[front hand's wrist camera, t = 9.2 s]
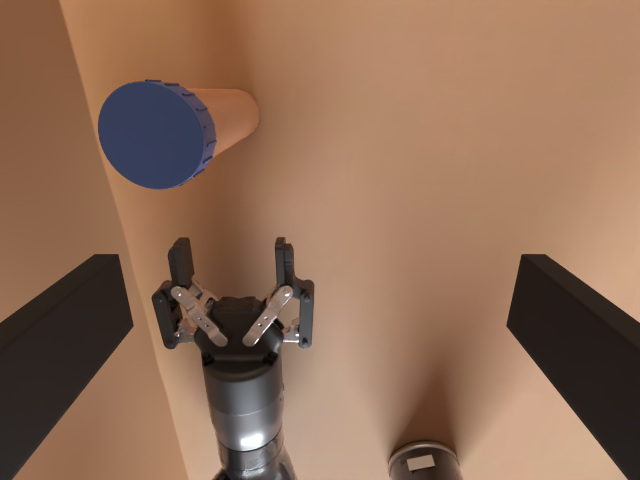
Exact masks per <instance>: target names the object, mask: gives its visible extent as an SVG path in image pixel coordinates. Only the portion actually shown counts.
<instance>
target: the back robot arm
mask: <svg viewBox="0 0 640 480" xmlns="http://www.w3.org/2000/svg"><path fill="white" fill-rule="evenodd" d="M275 257H276V275H277V284H276V286H275V287H274V288H272V289H271V290H270V291H269V293H268V294H267V295H266V296H265V298H264V299H263V300H262V301H260V300H257V299H255V297H244V298H240V299H238V298H234V297H222V299H221V300H219V299H218V298H217V297H216V296H215V295H214V294H213V293H212V292H211V291H210V290H208V289H204V288H203V287H202V286H201V285H200V284H199V283H198V282H197V281H196V280H195V279H194V278H193V277H192V276H193V275H194V267H193V260H192V253H191V246H190V240H189V238H179V239H178V240H177V241H176V242H175V243H174V245H173V247H172V248H171V249H170V250H169V253H168V260H169V266H170V272H171V278H172V281H169V280H167V281H164V282H163V283H162V285H161V286H160V288H159V289H158V290H157V291H156V292H155V293H154V294H153V296H152V302H153V306H154V310H155V313H156V317H157V321H158V324H159V328H160V332H161V335H162V339H163V343H164V346H165V347H166V348H168V349H174V348H176V346H177V345H178V343H187V342H195V343H196V345H197V346H198V347H199V349H200V350H201V355H202V366H203V372H204V379H205V385H206V392H207V398H208V404H209V411H210V416H211V421H212V424H213V426H214V429H215V433H216V439H217V446H218V453H219V458H220V462H221V465H222V468H221V469H220V470H219V471H218V473H217V474H216V475H215V476H214V477H213V479H212V480H297V477H296V474H295V471H294V468H293V466H292V463H291V460H290V457H289V455H288V453H287V451H286V449H285V446H284V441H283V423H282V414H283V393H284V385H283V381H282V364H281V347H280V346H281V344H282V343H283V341H284V342H299V346H300V347H301V348H303V349H307V348H309V347H310V346H311V344H312V325H313V306H314V283H313V282H312V281H311V280H305V281H303V280H300V279H298V278H297V277H296V276H295V274H294V252H293V247H292V245H291V244H286V240H285V237H277V239H276V243H275ZM291 297H293V298H296V299H299V300H300V317H297V318H296V319H294V320H292V323H291V325H290V326H289V327H287V328H284V325H283V324H282V323H281V322H280V321H279V320H278V318H277V316H278V314H279V313H280V310H281V309H282V307H283V306H284V305H285V304H286V302H287V301H288V300H289V299H290V298H291ZM179 303H180V304H181V305H182V306H183V307H184V308H185V309H186V310H187V314H188V316H189V317H190V318H191V319H192V320H193V321H194V322H195V323H196V324H197V325H198V327H197V328H192V327H191V326H190V325H189V323H188V319H187V318H183V316H182V312H181V308H180V304H179ZM205 306H206V307H207V308H208V309H209V311H208V312H206V311H205V308H204V307H205ZM388 471H389V477H390V480H464V479H463V476H462V473H461V471H460V468H459V463H458V460H457V457H456V455H455V453H454V452H453V451H452V450H451V449H450V448H449V447H448V446H446V445H444V444H442V443H439V442H435V441H417V442H413V443H410V444H407V445H405V446H403V447H401V448H400V449H398V450H397V451H396V452H395V453H394V454H393V455H392V457H391V459H390V461H389V464H388Z"/></svg>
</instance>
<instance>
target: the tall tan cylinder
mask: <svg viewBox="0 0 640 480" xmlns="http://www.w3.org/2000/svg"><path fill="white" fill-rule="evenodd" d="M185 89H187V88H185ZM187 90H189V91H190V92H194V93H195V96H197V97H198V98H199V99H200V100H201V101H202V102H203V104H204V105H205V106H207V107H208V111H209V113H210V115H211V117H212V120H213V123H215V131H216V141H217V143H216V145H215V150H214V153H213V157H215V156H216V155H218V154H219V153H221V152H223V151H224V150H226V149H227V148H229V147H231V146H232V145H234V144H235V143H237V142H239V141H240V140H242V139H243V138H245V137H247V136H248V135H250V134H251V133H252V132H253V131H254V130H255V129H256V127H257V125H258V123H259V118H260V113H259V108H258V105H257V103H256V101H255V100H254V98H253V97H252V96H251V95H250V94H248V93H247V92H245V91H243V90H239V89H187Z"/></svg>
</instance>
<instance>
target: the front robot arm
mask: <svg viewBox="0 0 640 480" xmlns="http://www.w3.org/2000/svg"><path fill="white" fill-rule="evenodd" d="M506 326H507V327H508V329H509V330H510V331H511V332H512V334H513V335H514V336H515V338H516V339H517V340H518V341H519V343H520V344H521V345H522V346H523V348H524V349H525V350H526V351H527V353H528V354H529V355H530V356H531V358H532V359H533V360H534V362H535V363H536V364H537V365H538V367H539V368H540V369H541V370H542V372H543V373H544V374H545V375H546V377H547V378H548V379H549V381H550V382H551V383H552V384H553V386H554V387H555V388H556V389H557V391H558V392H559V393H560V394H561V396H562V397H563V398H564V399H565V401H566V402H567V403H568V405H569V406H570V407H571V408H572V410H573V411H574V412H575V413H576V415H577V416H578V417H579V418H580V420H581V421H582V422H583V423H584V425H585V426H586V427H587V429H588V430H589V431H590V432H591V434H592V435H593V436H594V437H595V439H596V440H597V441H598V442H599V444H600V445H601V446H602V447H603V449H604V450H605V451H606V453H607V454H608V455H609V456H610V458H611V459H612V460H613V461H614V463H615V464H616V465H617V466H618V468H619V469H620V470H621V471H622V473H623V474H624V475H625V477H626V478H627V479H628V480H640V323H639V322H638V321H636V320H635V319H634V318H632V317H631V316H630V315H628V314H627V313H625V312H624V311H623V310H621V309H620V308H619V307H617V306H616V305H614V304H613V303H612V302H610V301H609V300H608V299H606V298H605V297H603V296H602V295H601V294H599V293H598V292H596V291H595V290H594V289H592V288H591V287H590V286H588V285H587V284H585V283H584V282H583V281H581V280H580V279H579V278H577V277H576V276H574V275H573V274H572V273H570V272H569V271H568V270H566V269H565V268H563V267H562V266H561V265H559V264H558V263H557V262H555V261H554V260H552V259H551V258H550V257H548V256H547V255H546V254H522V255H521V260H520V265H519V269H518V274H517V279H516V283H515V288H514V293H513V297H512V302H511V306H510V311H509V316H508V320H507V325H506ZM132 327H133V320H132V316H131V311H130V307H129V302H128V297H127V293H126V288H125V283H124V279H123V274H122V269H121V265H120V260H119V255H118V254H95V255H93V256H92V257H90V258H89V259H88V260H86V261H85V262H83V263H82V264H81V265H79V266H78V267H77V268H75V269H74V270H72V271H71V272H70V273H68V274H67V275H66V276H64V277H63V278H61V279H60V280H59V281H57V282H56V283H55V284H53V285H52V286H50V287H49V288H48V289H46V290H45V291H43V292H42V293H41V294H39V295H38V296H37V297H35V298H34V299H33V300H31V301H30V302H28V303H27V304H26V305H24V306H23V307H22V308H20V309H19V310H17V311H16V312H15V313H13V314H12V315H10V316H9V317H8V318H6V319H5V320H4V321H2V322H1V323H0V480H12V479H13V478H14V477H15V475H16V474H17V473H18V471H19V470H20V469H21V468H22V466H23V465H24V464H25V463H26V461H27V460H28V459H29V458H30V456H31V455H32V454H33V452H34V451H35V450H36V449H37V447H38V446H39V445H40V444H41V442H42V441H43V440H44V439H45V437H46V436H47V435H48V434H49V432H50V431H51V430H52V428H53V427H54V426H55V425H56V423H57V422H58V421H59V420H60V418H61V417H62V416H63V415H64V413H65V412H66V411H67V409H68V408H69V407H70V406H71V405H72V403H73V402H74V401H75V399H76V398H77V397H78V396H79V394H80V393H81V392H82V390H83V389H84V388H85V387H86V386H87V384H88V383H89V382H90V380H91V379H92V378H93V377H94V375H95V374H96V373H97V372H98V370H99V369H100V368H101V367H102V365H103V364H104V363H105V362H106V360H107V359H108V358H109V356H110V355H111V354H112V353H113V351H114V350H115V349H116V348H117V346H118V345H119V344H120V343H121V341H122V340H123V339H124V337H125V336H126V335H127V334H128V332H129V331H130V330H131V329H132Z"/></svg>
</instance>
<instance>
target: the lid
mask: <svg viewBox="0 0 640 480" xmlns="http://www.w3.org/2000/svg"><path fill="white" fill-rule="evenodd" d="M98 133H99V139H100V143H101V146H102V149H103V151H104V153H105V155H106V157H107V159H108V160H109V162H110V163H111V164H112V166H113V167H114V168H115V169H116V170H117V171H118V172H119V173H120V174H121V175H122V176H124V177H125V178H127V179H128V180H130V181H131V182H133V183H135V184H137V185H140V186H143V187H146V188H151V189H169V188H173V187H176V186H179V185H180V186H181V185H183V184H184V183H186V182H187V181H189V180H190V179H192V177H195V176H197V175H198V174H200V173H201V172H203V171H204V170H205V169H204V168H205V167H206V166H207V164H208V163H209V162H210V160H211V159H213V153H214V150H215V145H216V143H217V141H216V131H215V123H213V120H212V117H211V115H210V113H209V111H208V107H207V106H205V105H204V104H203V102H202V101H201V100H200V99H199V98H198V97H197V96H195V93H194V92H190V91H189V90H187V89H185V88H183V87H181V86H179V84H178V83H164V82H161V80H145V82H143V81H141V82H133V83H128V84H126V85H123V86H121V87H120V88H118V89H116V90H115V91H114V92H113V93H112V94H111V95H110V96H109V97H108V98H107V99H106V101H105V103H104V104H103V106H102V109H101V111H100V115H99V120H98Z"/></svg>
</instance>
